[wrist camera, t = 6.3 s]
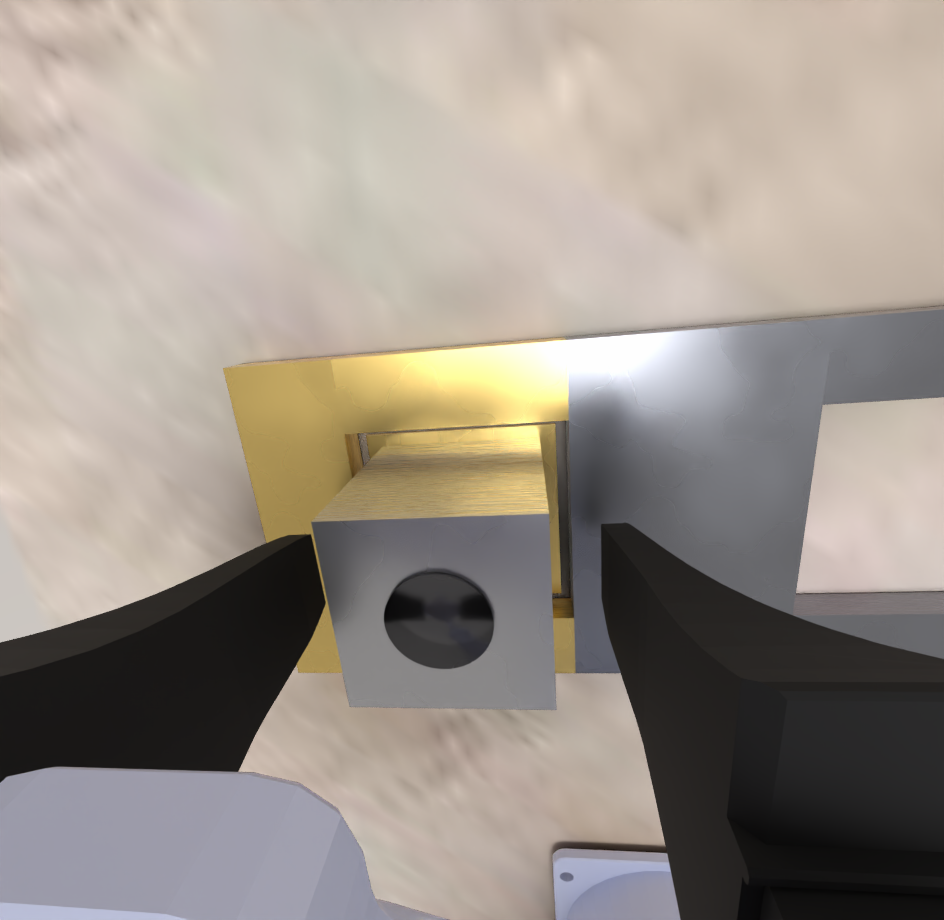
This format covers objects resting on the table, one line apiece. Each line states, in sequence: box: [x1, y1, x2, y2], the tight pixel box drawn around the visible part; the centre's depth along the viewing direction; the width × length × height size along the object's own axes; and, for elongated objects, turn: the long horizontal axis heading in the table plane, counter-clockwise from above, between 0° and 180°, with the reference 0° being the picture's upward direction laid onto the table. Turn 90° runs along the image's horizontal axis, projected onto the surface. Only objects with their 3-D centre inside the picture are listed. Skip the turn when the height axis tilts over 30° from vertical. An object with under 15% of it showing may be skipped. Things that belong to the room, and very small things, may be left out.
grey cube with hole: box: [311, 437, 556, 710], centre depth 12 cm, size 4×4×5 cm
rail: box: [223, 306, 944, 673], centre depth 13 cm, size 10×24×1 cm, turn 95°
